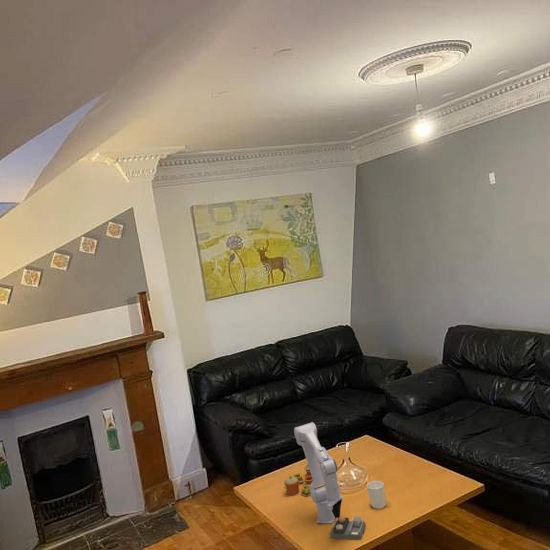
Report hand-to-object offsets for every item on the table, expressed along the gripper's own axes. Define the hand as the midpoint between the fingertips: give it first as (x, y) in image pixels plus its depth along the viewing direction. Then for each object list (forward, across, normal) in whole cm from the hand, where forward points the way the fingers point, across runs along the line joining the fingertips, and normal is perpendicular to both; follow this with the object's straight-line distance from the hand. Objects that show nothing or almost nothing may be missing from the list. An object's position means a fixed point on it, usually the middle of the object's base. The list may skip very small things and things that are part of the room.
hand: (337, 516), depth 230 cm
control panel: (+8, +3, -3) cm, 9 cm away
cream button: (+6, 0, 0) cm, 6 cm away
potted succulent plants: (+9, +43, +32) cm, 54 cm away
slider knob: (+6, +5, -7) cm, 10 cm away
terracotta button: (+5, +5, 0) cm, 7 cm away
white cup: (+9, +25, -12) cm, 29 cm away
